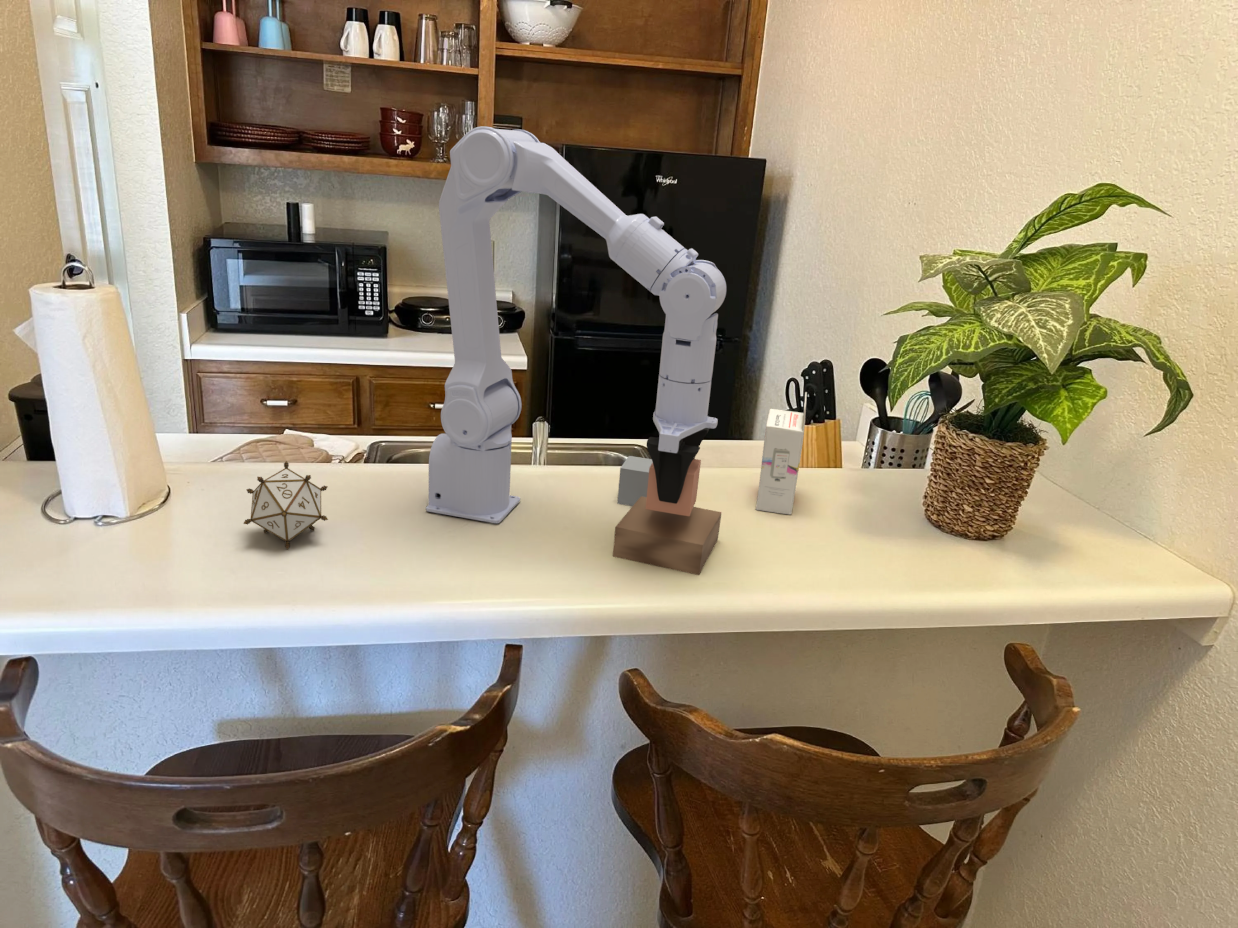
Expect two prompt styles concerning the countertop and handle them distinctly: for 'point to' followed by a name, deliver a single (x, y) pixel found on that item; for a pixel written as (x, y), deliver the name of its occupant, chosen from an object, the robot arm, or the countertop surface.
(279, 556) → the countertop surface
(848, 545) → the countertop surface
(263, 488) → the game die
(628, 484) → the grey cube
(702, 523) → the walnut block
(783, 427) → the ink cartridge box
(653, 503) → the salmon pink cube
